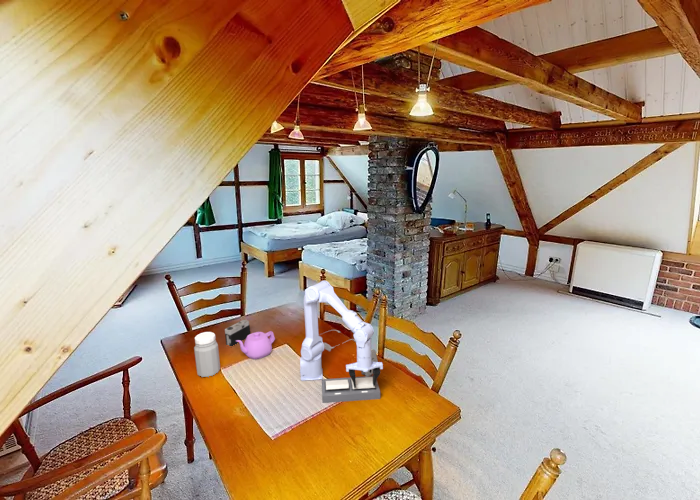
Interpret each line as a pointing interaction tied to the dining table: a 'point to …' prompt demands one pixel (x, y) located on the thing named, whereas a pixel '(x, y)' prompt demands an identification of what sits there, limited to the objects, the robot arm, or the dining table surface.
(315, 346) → the robot arm
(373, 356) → the electrical switch
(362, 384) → the right paddle
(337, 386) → the left paddle
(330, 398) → the switch box
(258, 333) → the teapot
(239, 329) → the camera
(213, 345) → the jar
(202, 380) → the dining table surface
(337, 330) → the eyeglasses
